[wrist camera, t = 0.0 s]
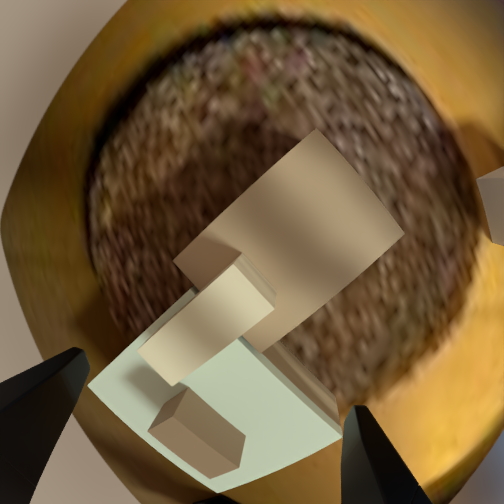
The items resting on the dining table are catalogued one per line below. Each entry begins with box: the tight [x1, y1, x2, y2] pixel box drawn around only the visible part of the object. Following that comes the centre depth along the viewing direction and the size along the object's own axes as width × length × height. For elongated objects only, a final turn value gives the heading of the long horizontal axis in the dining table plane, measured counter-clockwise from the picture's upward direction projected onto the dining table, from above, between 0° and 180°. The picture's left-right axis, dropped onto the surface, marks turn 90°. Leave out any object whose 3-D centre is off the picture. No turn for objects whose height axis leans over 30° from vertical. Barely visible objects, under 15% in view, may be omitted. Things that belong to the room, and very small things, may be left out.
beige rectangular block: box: [137, 253, 277, 386], centre depth 17 cm, size 8×3×3 cm, turn 133°
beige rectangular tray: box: [114, 128, 405, 427], centre depth 22 cm, size 26×18×6 cm
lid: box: [87, 285, 343, 493], centre depth 19 cm, size 14×16×6 cm
